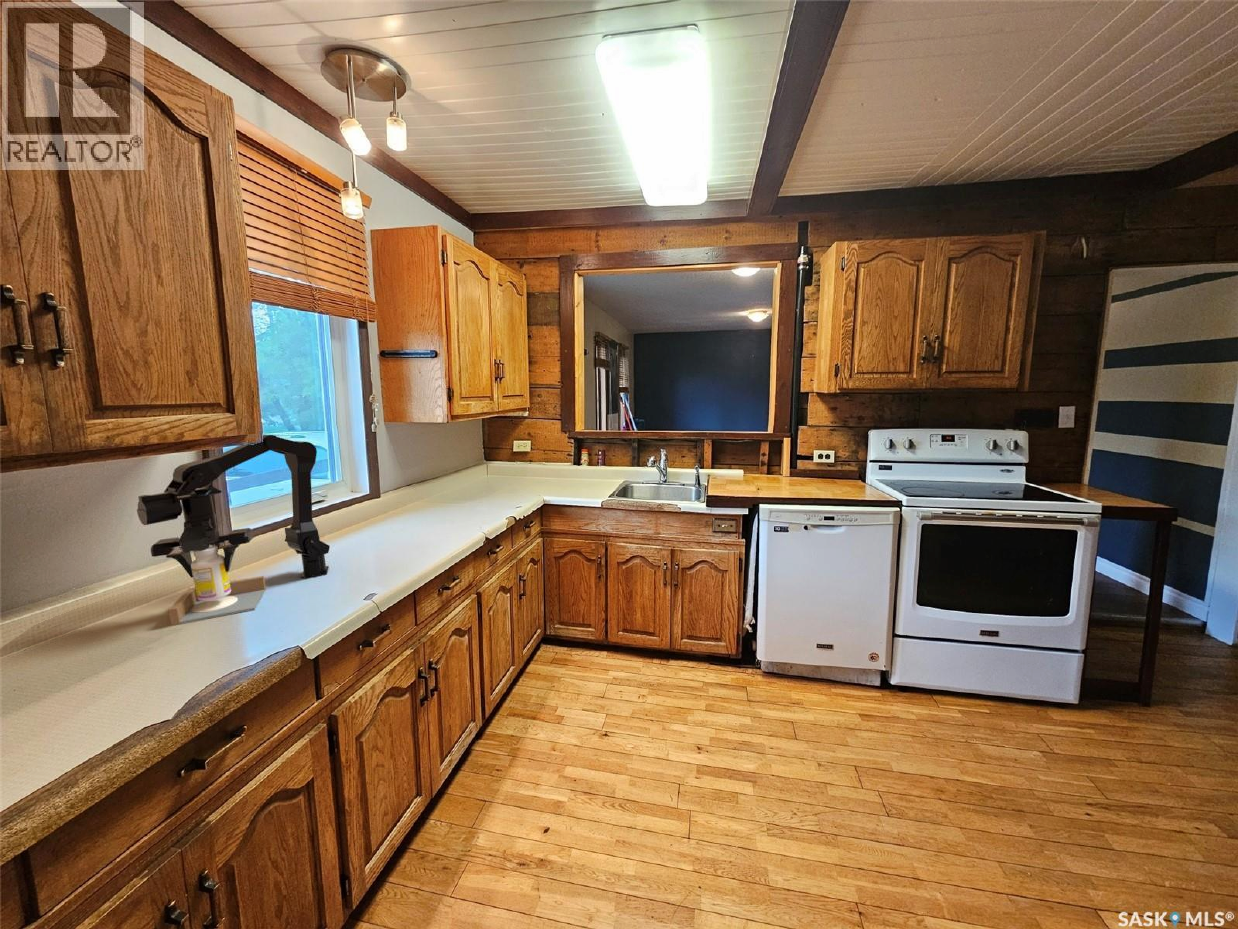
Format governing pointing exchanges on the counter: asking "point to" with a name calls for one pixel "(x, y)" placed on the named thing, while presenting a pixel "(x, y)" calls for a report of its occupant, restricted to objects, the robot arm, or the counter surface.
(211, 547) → the supplement bottle
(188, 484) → the robot arm
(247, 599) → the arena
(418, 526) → the counter surface
